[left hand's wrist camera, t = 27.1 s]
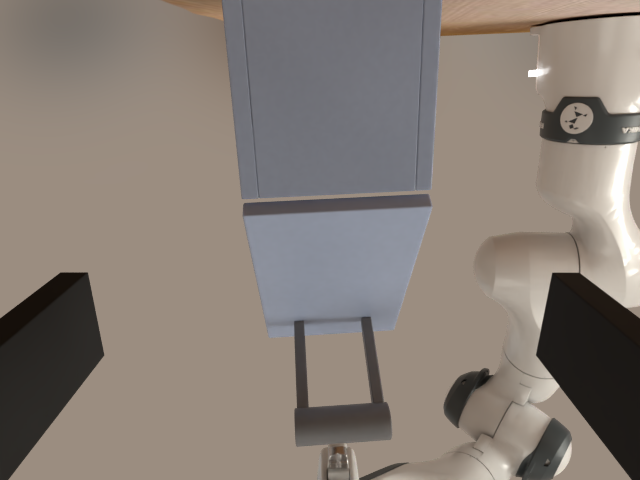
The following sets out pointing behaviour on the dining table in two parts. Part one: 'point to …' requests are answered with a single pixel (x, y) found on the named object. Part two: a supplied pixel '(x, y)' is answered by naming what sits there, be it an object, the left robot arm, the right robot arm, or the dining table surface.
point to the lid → (336, 289)
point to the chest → (333, 94)
